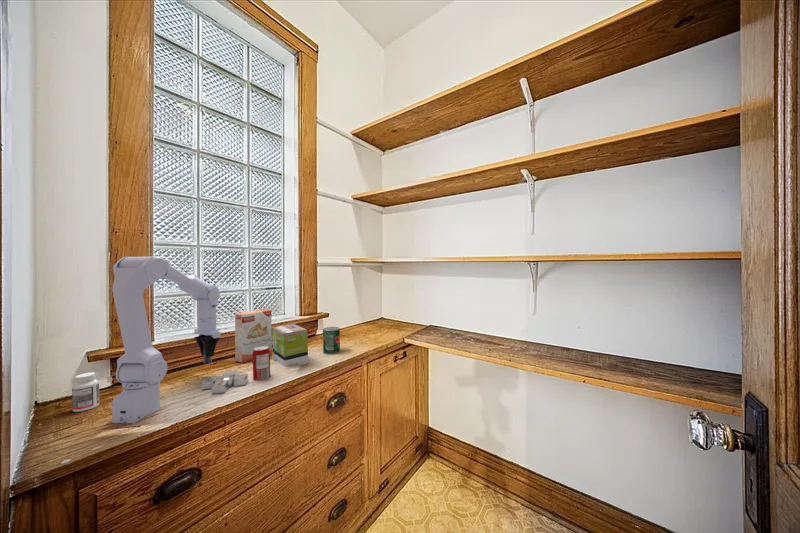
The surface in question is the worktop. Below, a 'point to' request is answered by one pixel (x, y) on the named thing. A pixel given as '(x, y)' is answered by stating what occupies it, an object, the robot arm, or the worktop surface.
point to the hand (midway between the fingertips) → (207, 355)
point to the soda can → (261, 363)
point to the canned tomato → (331, 340)
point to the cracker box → (251, 333)
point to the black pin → (206, 358)
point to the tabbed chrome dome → (224, 381)
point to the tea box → (290, 345)
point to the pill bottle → (85, 392)
